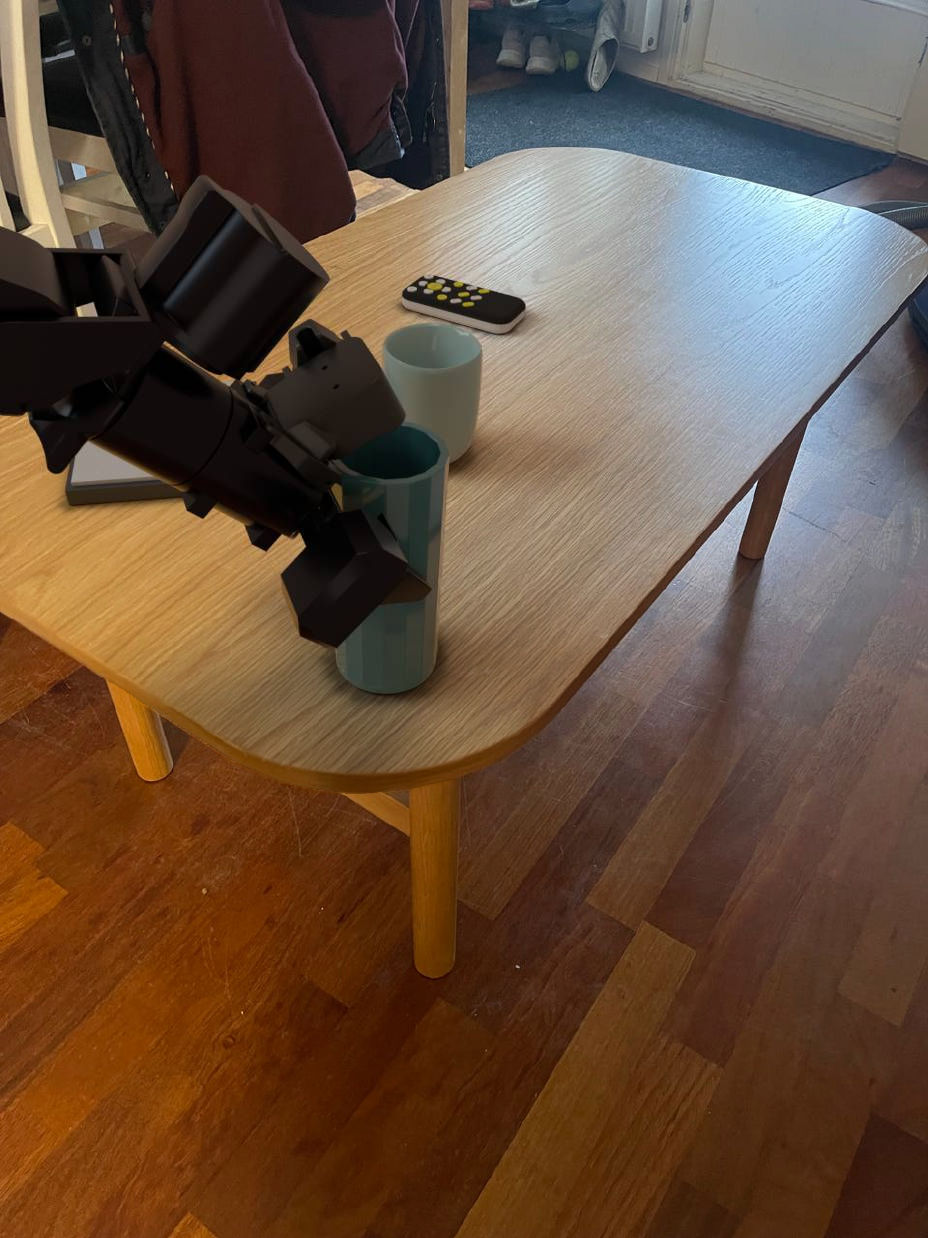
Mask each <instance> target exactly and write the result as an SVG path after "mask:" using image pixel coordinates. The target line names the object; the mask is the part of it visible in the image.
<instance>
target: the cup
mask: <svg viewBox="0 0 928 1238" xmlns="http://www.w3.org/2000/svg"><path fill="white" fill-rule="evenodd" d="M483 361H484V353H483V345H482V344H481V342H480V341H479V339H478V338H476V336H475V335H474V334H472V333H470V331H467V330H465V329H463V328H461V327H458V326H454V325H451V324H447V323H442V322H441V323H440V322H421V323H420V322H419V323H415V324H409V325H406V326H403V327H400V328H398V329H396V330H394V331H392V332H391V333H389V334H388V335H387V336H386V337H385V338H384V340H383V342H382V346H381V368H382V370H383V372H384V374H385V376H386V377H387V379H388V381H389V383H390V385H391V386H392V388H393V390H394V392H395V394H396V395H397V397H398V399H399V401H400V403H401V405H402V406H403V408H404V410H405V412H406V417H405V420H404V421H405V422H412V423H415V424H418V425H420V426H423V427H425V428H428V429H430V430H432V431H434V432H435V433H436V434H437V435H438V436H440V437H441V438H442V439H443V440H444V441H445V442H446V445H447V448H448V451H449V453H450V455H449V465H450V464H452V463H453V462H454V463H455V462H456V461H458V460H459V459H460V458H461V457H462V456H464V454H465V453H466V452H467V451H468V449H469V448H470V446H471V444H472V442H473V439H474V437H475V433H476V429H477V425H478V420H479V414H480V406H481V405H480V404H481V394H482V383H483Z"/></svg>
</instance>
